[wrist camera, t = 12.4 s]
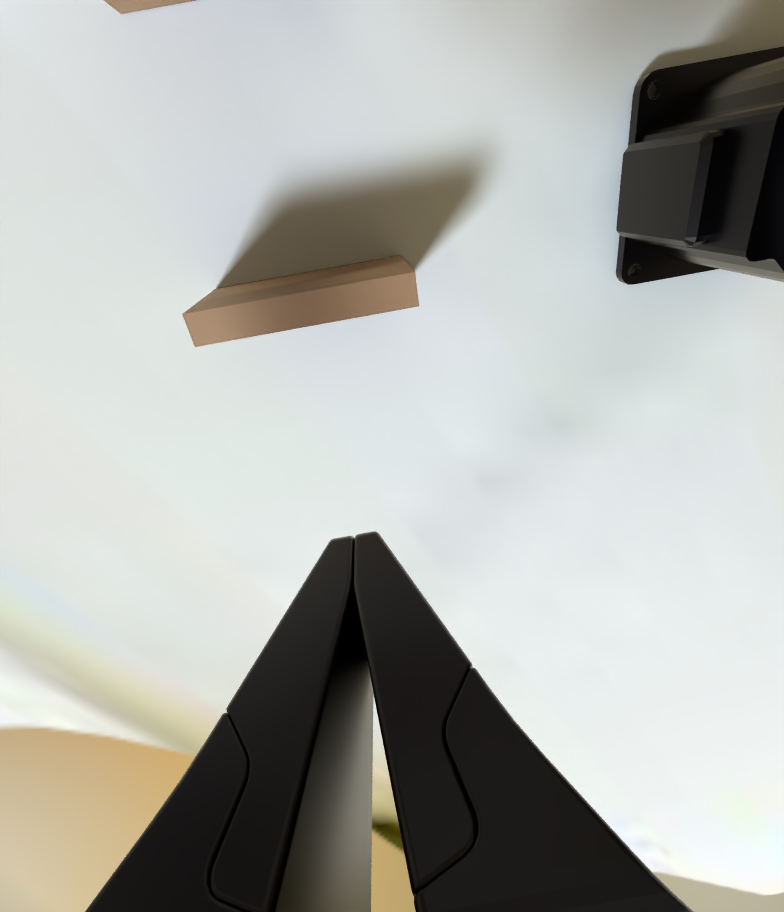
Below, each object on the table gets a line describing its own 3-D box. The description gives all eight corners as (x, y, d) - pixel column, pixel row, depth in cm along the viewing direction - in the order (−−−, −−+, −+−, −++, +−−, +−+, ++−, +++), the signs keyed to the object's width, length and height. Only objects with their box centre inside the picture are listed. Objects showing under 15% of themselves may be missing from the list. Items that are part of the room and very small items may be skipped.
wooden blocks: (355, -81, 12) (359, -185, 9) (404, 283, 17) (419, 305, 14) (104, -36, 12) (12, -123, 9) (224, 316, 17) (195, 346, 14)
